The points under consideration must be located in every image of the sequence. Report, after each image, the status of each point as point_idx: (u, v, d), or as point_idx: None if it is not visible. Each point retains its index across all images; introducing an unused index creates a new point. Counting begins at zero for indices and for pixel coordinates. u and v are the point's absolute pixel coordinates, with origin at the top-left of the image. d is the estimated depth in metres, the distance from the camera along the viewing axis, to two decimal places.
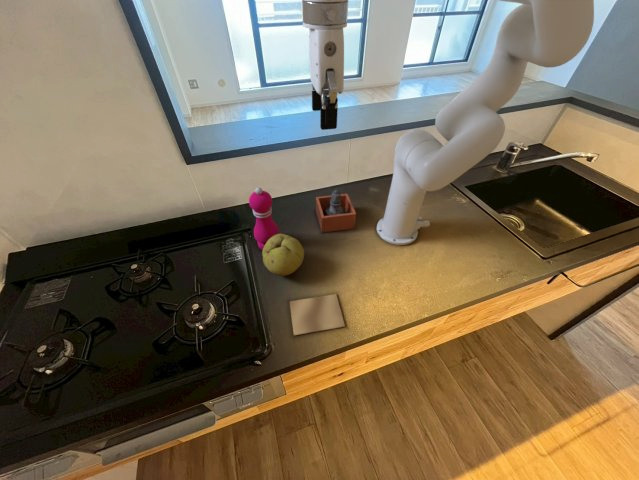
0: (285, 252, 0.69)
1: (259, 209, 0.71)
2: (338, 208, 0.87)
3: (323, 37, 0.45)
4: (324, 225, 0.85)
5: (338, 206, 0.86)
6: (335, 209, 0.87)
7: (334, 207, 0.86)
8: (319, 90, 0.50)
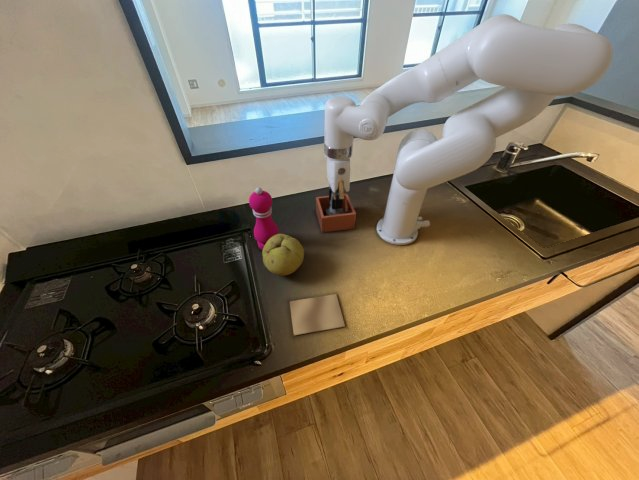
0: (285, 252, 0.69)
1: (259, 209, 0.71)
2: None
3: (337, 165, 0.73)
4: (324, 225, 0.85)
5: None
6: (335, 209, 0.87)
7: None
8: (334, 191, 0.78)
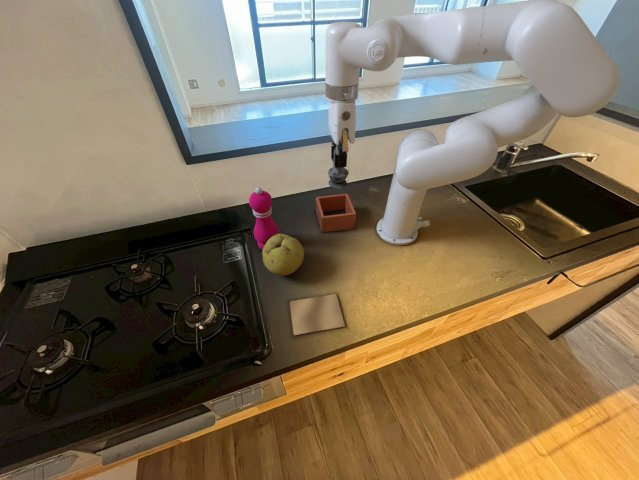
0: (285, 252, 0.69)
1: (259, 209, 0.71)
2: (342, 168, 0.77)
3: (341, 108, 0.62)
4: (324, 225, 0.85)
5: None
6: (338, 168, 0.76)
7: None
8: (337, 142, 0.67)
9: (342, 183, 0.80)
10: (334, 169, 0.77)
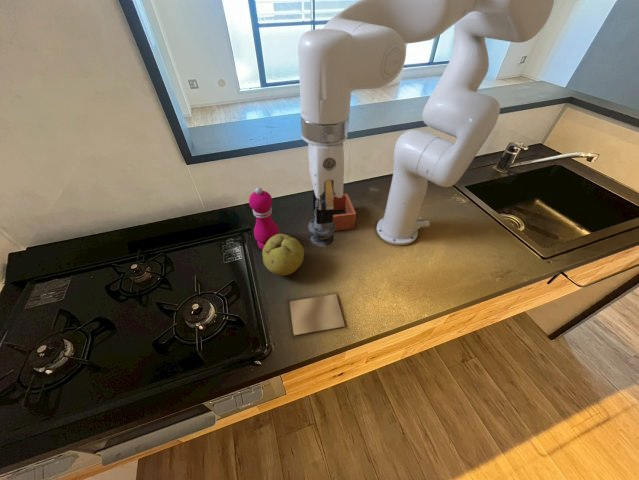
0: (285, 252, 0.69)
1: (259, 209, 0.71)
2: (327, 223, 0.57)
3: (322, 154, 0.43)
4: None
5: None
6: None
7: None
8: (317, 197, 0.48)
9: (327, 239, 0.61)
10: (316, 223, 0.58)
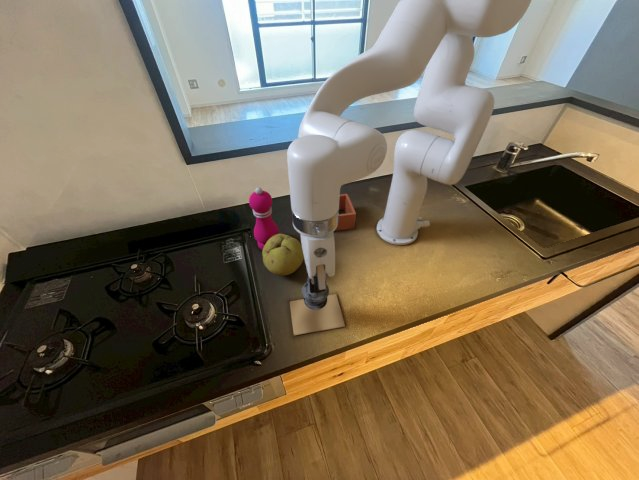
0: (285, 252, 0.69)
1: (259, 209, 0.71)
2: None
3: (313, 245, 0.44)
4: None
5: None
6: None
7: None
8: (310, 277, 0.49)
9: (321, 302, 0.62)
10: None
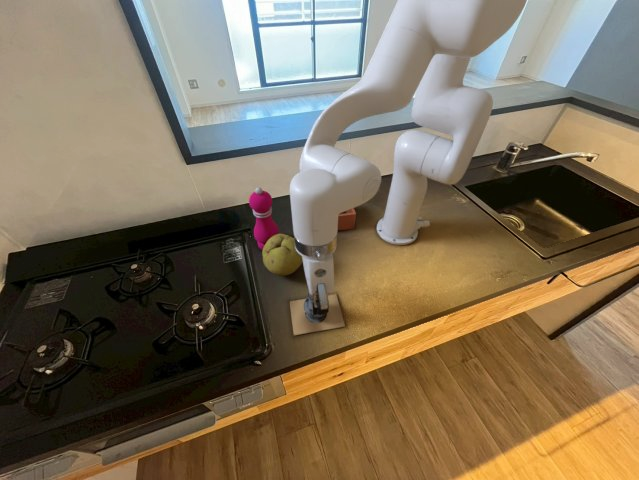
0: (285, 252, 0.69)
1: (259, 209, 0.71)
2: None
3: (313, 266, 0.47)
4: None
5: None
6: None
7: None
8: (311, 294, 0.53)
9: (321, 315, 0.66)
10: (310, 305, 0.63)
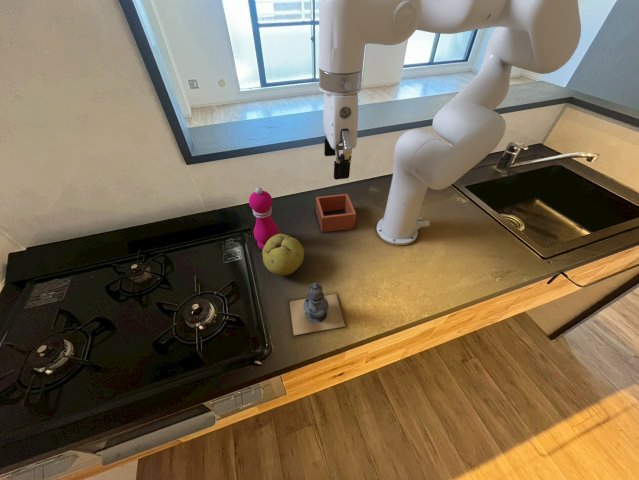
0: (285, 252, 0.69)
1: (259, 209, 0.71)
2: (320, 305, 0.63)
3: (339, 103, 0.48)
4: (324, 225, 0.85)
5: (320, 302, 0.62)
6: (316, 306, 0.62)
7: (314, 304, 0.62)
8: (334, 146, 0.53)
9: (321, 315, 0.66)
10: (310, 305, 0.63)
